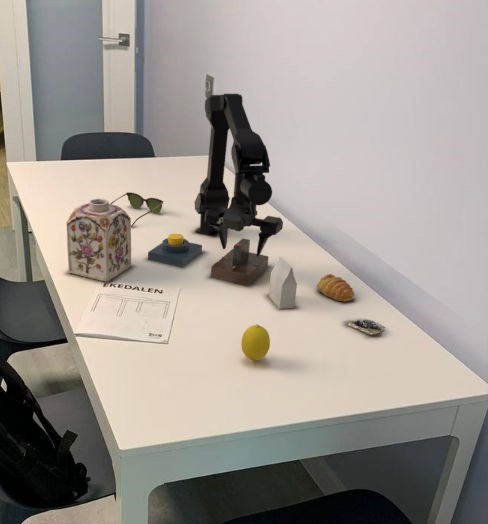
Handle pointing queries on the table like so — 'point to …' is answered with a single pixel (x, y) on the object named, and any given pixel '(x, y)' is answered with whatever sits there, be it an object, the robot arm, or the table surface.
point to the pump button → (175, 239)
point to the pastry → (335, 288)
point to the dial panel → (239, 269)
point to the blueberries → (367, 326)
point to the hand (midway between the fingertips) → (241, 252)
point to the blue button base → (175, 253)
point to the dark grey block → (241, 252)
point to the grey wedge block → (283, 285)
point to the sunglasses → (138, 201)
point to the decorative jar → (99, 240)
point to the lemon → (255, 342)
